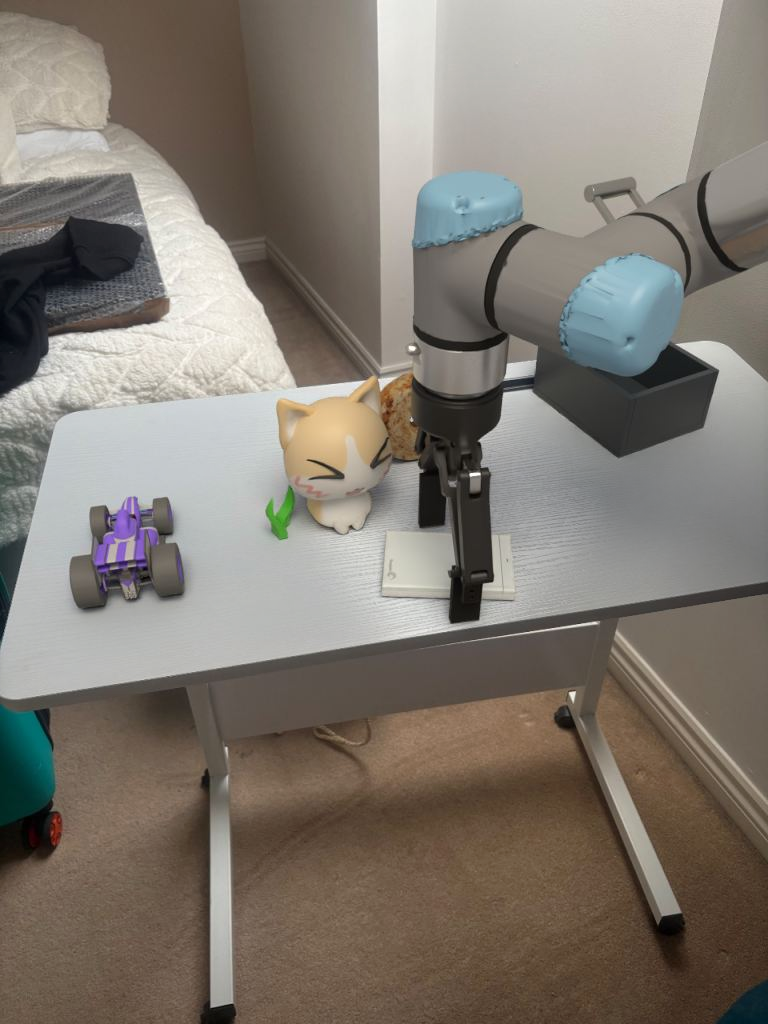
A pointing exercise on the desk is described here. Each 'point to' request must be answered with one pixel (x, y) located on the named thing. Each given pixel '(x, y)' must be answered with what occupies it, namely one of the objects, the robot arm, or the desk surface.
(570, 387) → the black box
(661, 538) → the desk surface
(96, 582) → the toy race car
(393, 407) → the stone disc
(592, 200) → the box lid
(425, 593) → the hard drive
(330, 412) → the kitten
